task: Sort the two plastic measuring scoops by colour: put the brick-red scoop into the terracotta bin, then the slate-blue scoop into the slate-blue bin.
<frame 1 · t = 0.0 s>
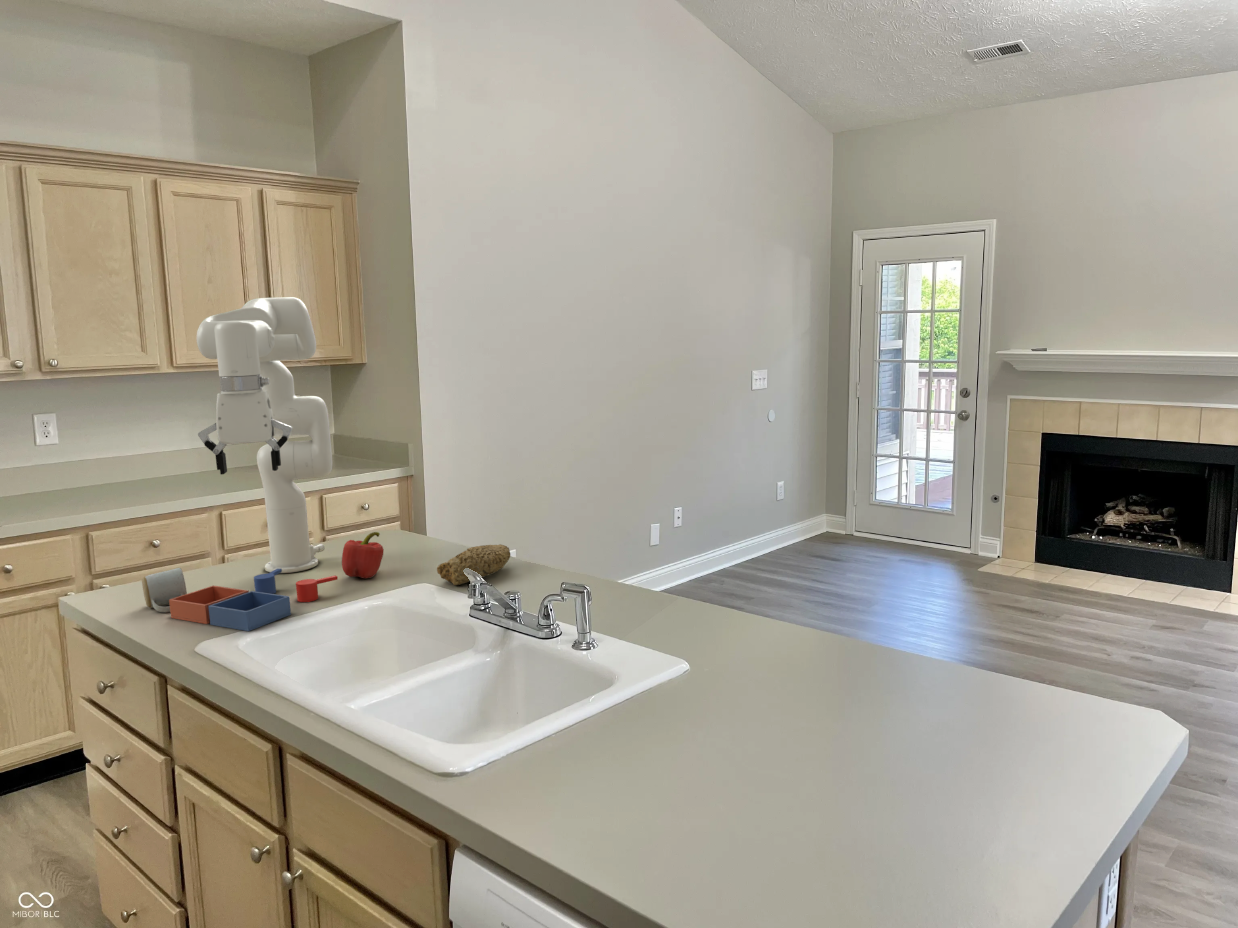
hand: (249, 471, 181), 31 cm above the worktop, tool pointing down, fingers open, 9 cm apart
blue bin: (251, 619, 188), on the worktop
ceramic mug: (169, 606, 199), on the worktop
blue scoop: (265, 593, 207), on the worktop
sponge: (478, 576, 215), on the worktop
vegetable: (364, 576, 218), on the worktop
red bin: (211, 613, 193), on the worktop
red scoop: (307, 599, 201), on the worktop
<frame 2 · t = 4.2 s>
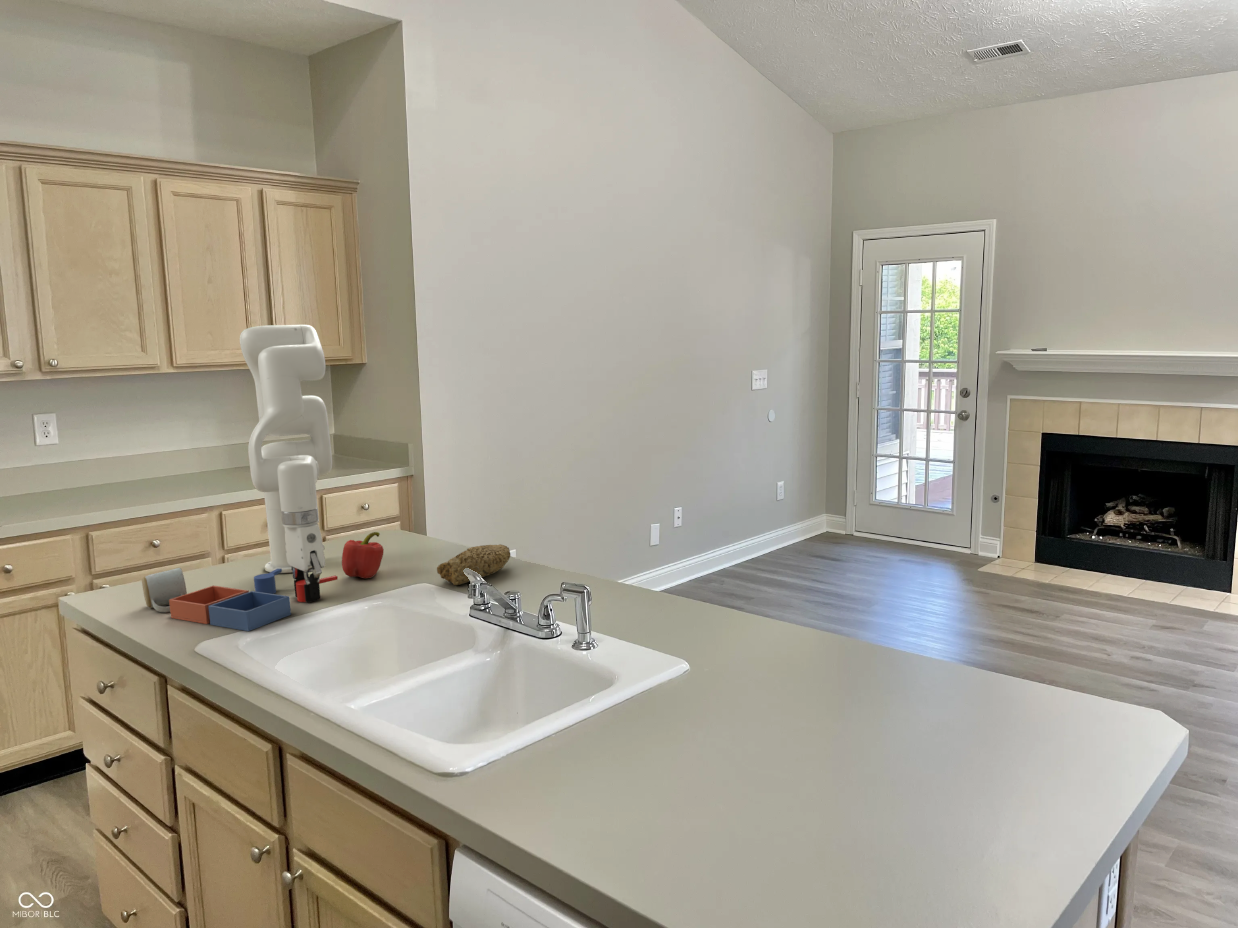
hand: (307, 597, 201), 0 cm above the worktop, tool pointing down, fingers closed on red scoop, 4 cm apart
red scoop: (308, 599, 201), on the worktop, touching gripper
everything else where it was.
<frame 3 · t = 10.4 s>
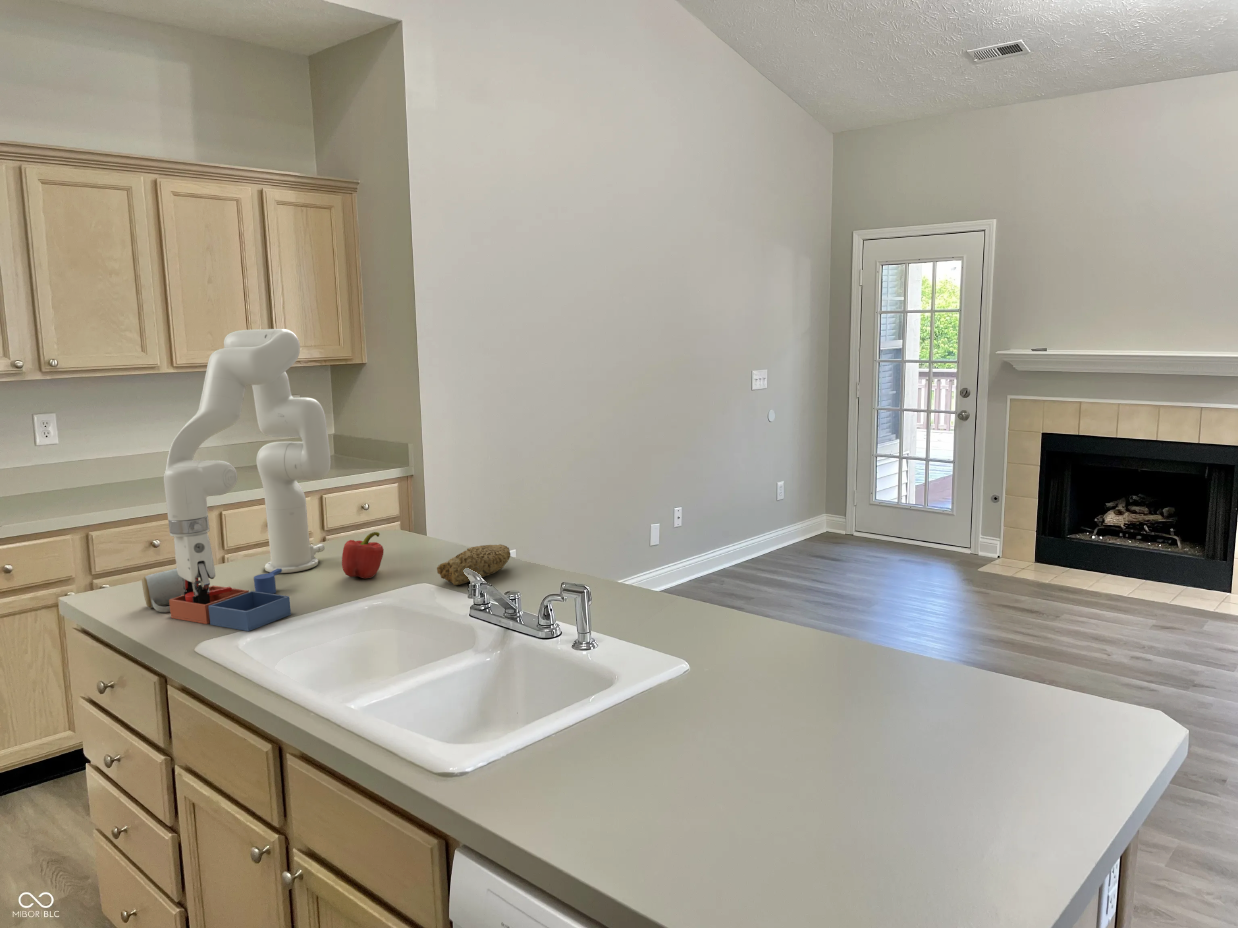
hand: (198, 610, 191), 1 cm above the worktop, tool pointing down, fingers closed on red scoop, 4 cm apart
red scoop: (198, 611, 191), point 1 cm above the worktop, touching gripper
everything else where it was.
when the fingers open (3 cm above the worktop, at t = 21.4 s): red scoop drops 3 cm, resting on red bin.
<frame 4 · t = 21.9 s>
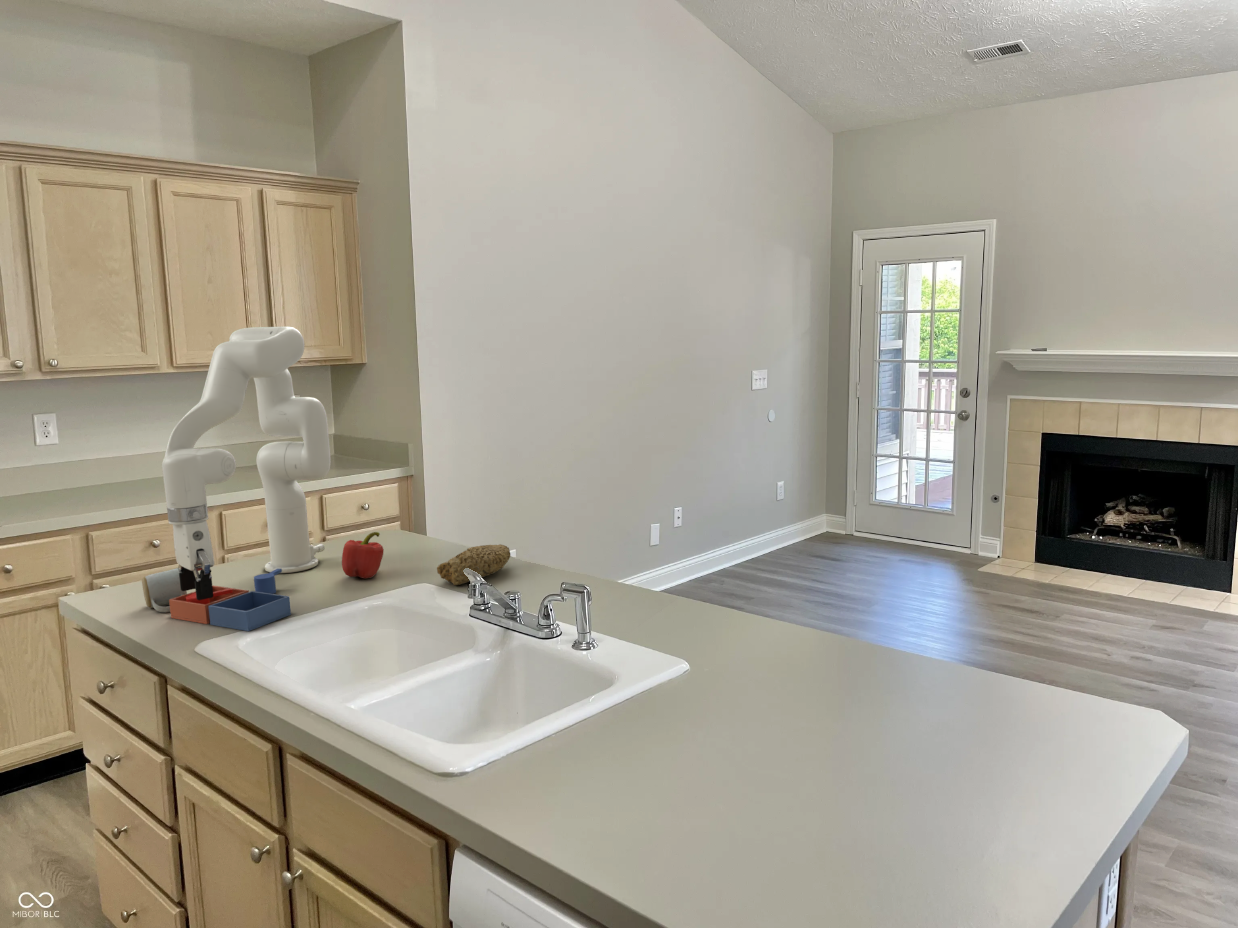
hand: (197, 593, 191), 5 cm above the worktop, tool pointing down, fingers open, 9 cm apart
red scoop: (199, 613, 192), point 1 cm above the worktop, touching red bin
everything else where it was.
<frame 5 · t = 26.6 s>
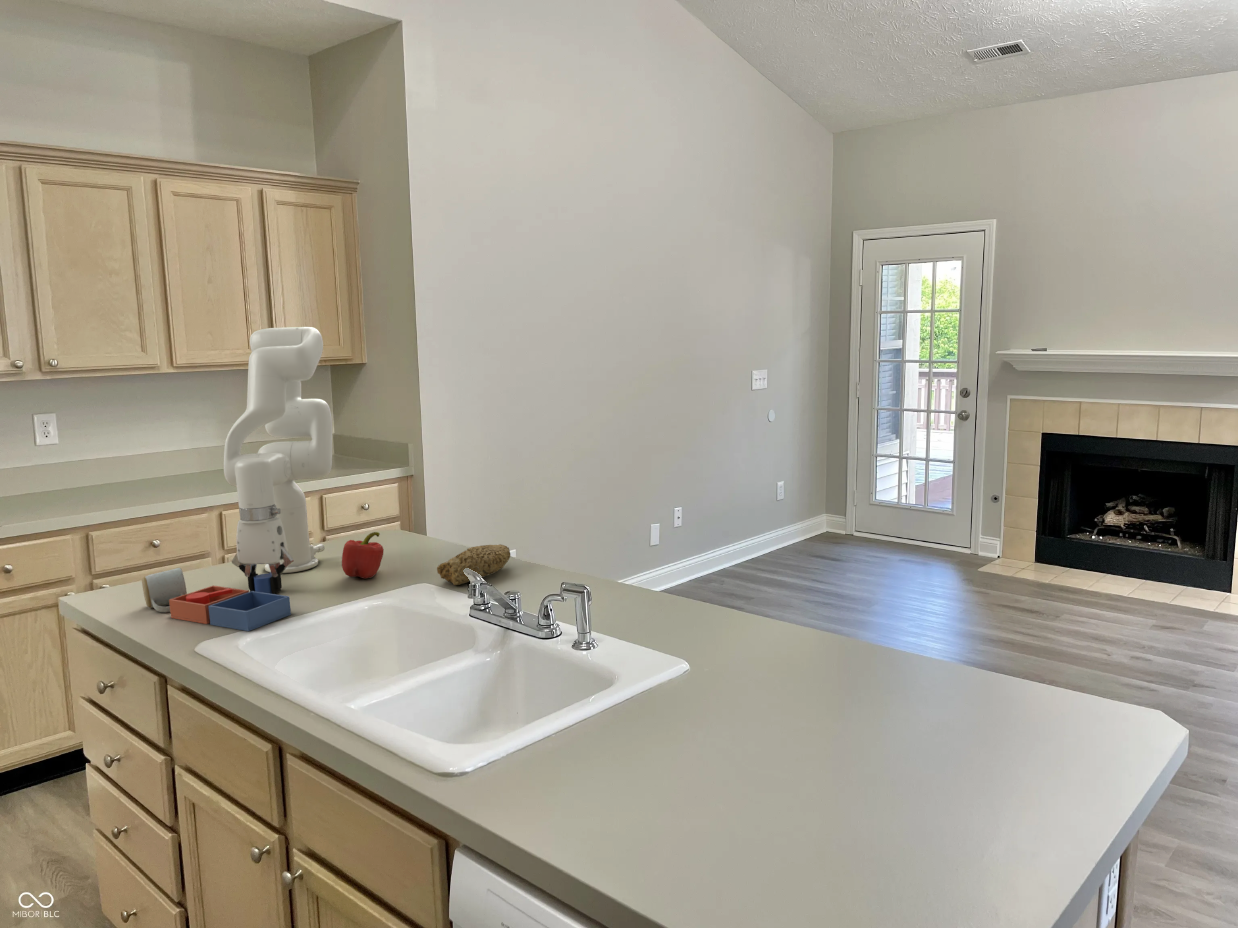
hand: (265, 591, 207), 0 cm above the worktop, tool pointing down, fingers closed on blue scoop, 4 cm apart
blue scoop: (265, 593, 207), on the worktop, touching gripper
everything else where it was.
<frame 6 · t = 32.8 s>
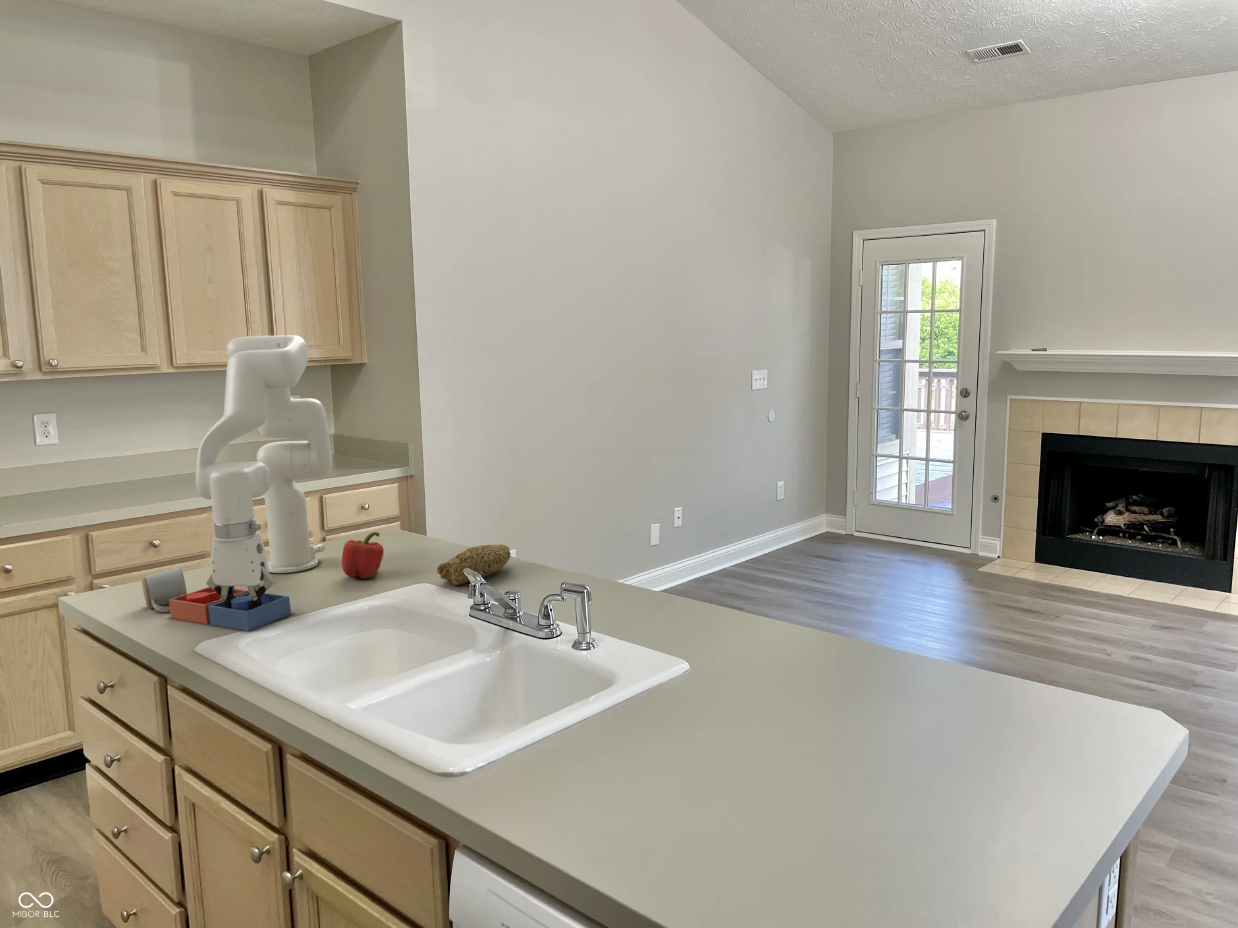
hand: (244, 616, 185), 1 cm above the worktop, tool pointing down, fingers closed on blue scoop, 4 cm apart
blue scoop: (244, 617, 185), point 1 cm above the worktop, touching gripper
everything else where it was.
when the fingers open (4 cm above the worktop, at t = 42.7 s): blue scoop drops 3 cm, resting on blue bin.
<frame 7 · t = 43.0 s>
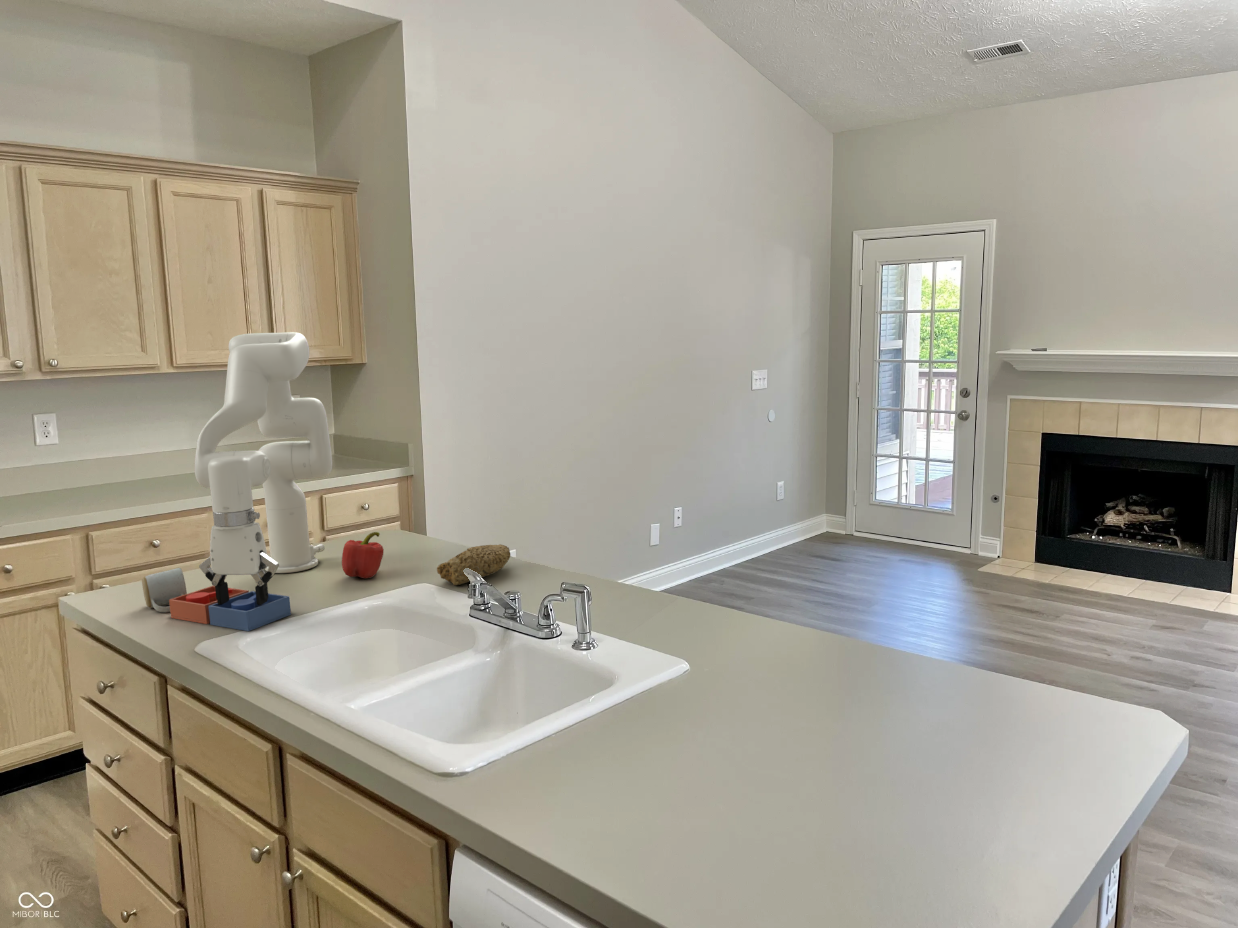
hand: (242, 602, 185), 4 cm above the worktop, tool pointing down, fingers open, 7 cm apart
blue scoop: (244, 621, 185), point 1 cm above the worktop, touching blue bin
everything else where it was.
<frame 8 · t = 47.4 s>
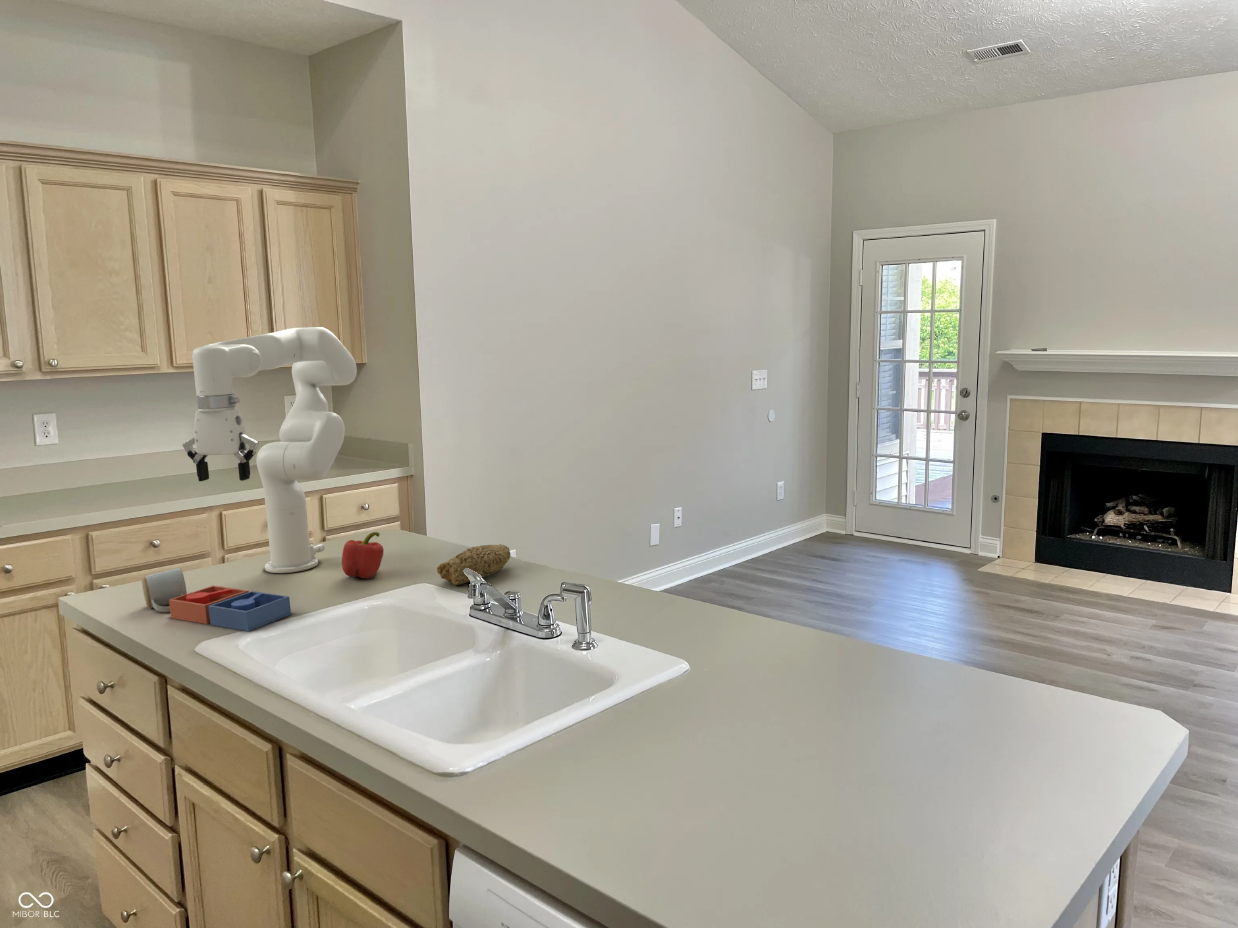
hand: (224, 479, 203), 26 cm above the worktop, tool pointing down, fingers open, 9 cm apart
nothing on the worktop moved.
at the end: red scoop inside the target area in the red bin (2.4 cm from its centre), point 0.5 cm above the red bin's base; blue scoop inside the target area in the blue bin (2.4 cm from its centre), point 0.5 cm above the blue bin's base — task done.
